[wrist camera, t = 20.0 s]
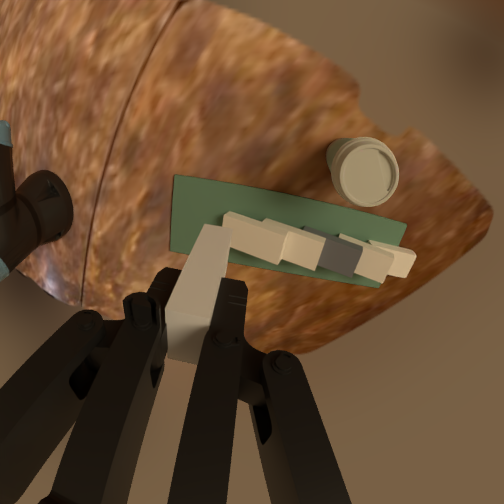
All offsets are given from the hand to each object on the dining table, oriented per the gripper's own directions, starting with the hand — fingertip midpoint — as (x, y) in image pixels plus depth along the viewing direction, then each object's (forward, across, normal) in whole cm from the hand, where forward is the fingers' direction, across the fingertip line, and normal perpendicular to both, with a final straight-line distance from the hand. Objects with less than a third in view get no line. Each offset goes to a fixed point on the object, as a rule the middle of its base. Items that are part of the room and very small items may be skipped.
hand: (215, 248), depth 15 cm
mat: (+28, +9, -12) cm, 32 cm away
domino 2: (+27, +4, -12) cm, 30 cm away
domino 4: (+27, +22, -12) cm, 37 cm away
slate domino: (+27, +11, -12) cm, 31 cm away
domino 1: (+27, -2, -12) cm, 30 cm away
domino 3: (+27, +17, -12) cm, 34 cm away
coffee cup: (+29, +14, +3) cm, 32 cm away
